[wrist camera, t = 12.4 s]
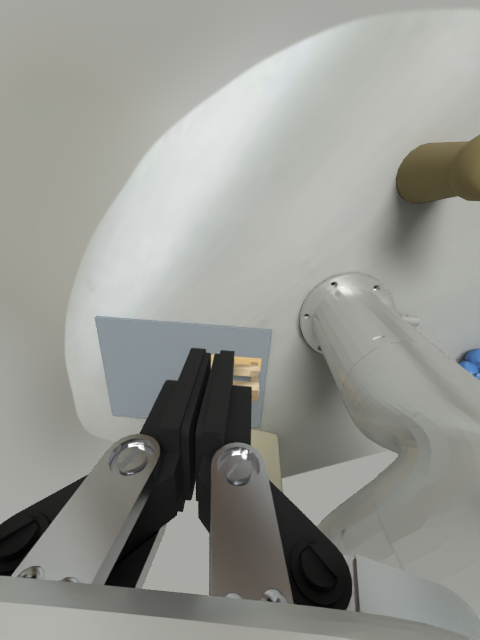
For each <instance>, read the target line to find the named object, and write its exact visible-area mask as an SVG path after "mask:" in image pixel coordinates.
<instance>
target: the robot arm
mask: <svg viewBox="0 0 480 640" xmlns="http://www.w3.org/2000/svg"><path fill="white" fill-rule="evenodd" d="M332 282H334V284H333V285H331V283H332ZM375 285H376V286H375ZM374 286H375V287H374ZM373 287H374V288H373ZM305 314H307V315H306V316H305ZM418 324H419V317H418V316H410V315H406V316H403V315H402V314H401V313H400V312H399V311H397V310H396V309H395V305H394V301H393V298H392V296H391V294H390V292H389V291H388V289H387V288H386V287H385V286H384V285H383V284H382V283H380V282H379V281H377V280H376V279H374V278H372V277H370V276H367V275H363V274H358V273H347V274H340V275H337V276H334V277H331V278H329V279H327V280H325V281H323V282H322V283H320V284H319V285H318V286H316V287H315V288H314V289H313V290H312V291H311V292H310V294H309V295H308V296H307V298H306V299H305V301H304V304H303V306H302V308H301V313H300V327H301V331H302V334H303V336H304V338H305V340H306V342H307V343H308V344H309V345H310V346H311V347H312V348H313V349H314V350H315V351H317V352H318V353H320V354H323V355H324V357H325V359H326V362H327V364H328V366H329V369H330V371H331V373H332V376H333V378H334V380H335V383H336V385H337V387H338V390H339V392H340V394H341V397H342V399H343V401H344V403H345V406H346V408H347V410H348V412H349V415H350V417H351V419H352V420H353V422H354V423H355V425H356V426H357V428H358V429H359V430H360V431H361V432H362V433H363V434H364V435H365V436H366V437H367V438H369V439H370V440H372V441H373V442H375V443H376V444H378V445H380V446H382V447H384V448H386V449H388V450H391V451H393V452H395V453H398V454H399V455H398V457H397V458H396V460H395V461H394V462H393V463H392V464H391V465H389V466H388V467H387V468H386V469H385V470H384V471H382V472H381V473H380V474H379V475H378V476H377V477H376V478H375V479H374V480H372V481H371V482H370V483H368V484H367V485H366V486H364V487H363V488H362V489H361V490H359V491H358V492H357V493H355V494H354V495H353V496H351V497H350V498H349V499H347V500H346V501H345V502H344V503H342V504H341V505H339V506H338V507H337V508H336V509H335V510H333V511H332V512H331V513H330V514H329V515H328V516H327V517H325V518H324V519H323V520H322V521H321V523H320V524H319V525H318V526H317V527H316V526H315V525H314V524H313V523H312V522H311V521H310V520H309V519H308V518H307V517H306V516H305V515H304V514H303V513H302V512H301V511H300V510H299V509H298V508H297V507H296V506H295V505H294V504H293V503H292V502H291V501H290V500H289V499H288V498H287V497H286V496H285V495H284V494H283V493H282V492H281V491H280V490H279V489H278V488H277V487H276V486H275V485H274V484H273V483H272V482H271V481H270V480H269V479H268V474H267V469H266V464H265V461H264V459H263V456H262V455H261V454H260V452H259V451H258V450H257V449H255V448H254V447H252V446H251V408H252V387H251V386H238V385H233V372H234V355H235V351H226V350H221V351H220V354H217V353H215V355H214V359H213V363H212V367H211V353H206V349H201V348H191V350H190V352H189V354H188V357H187V359H186V362H185V364H184V366H183V369H182V371H181V374H180V376H179V378H178V381H177V380H166V381H165V383H164V384H163V386H162V389H161V391H160V393H159V395H158V397H157V399H156V401H155V403H154V405H153V407H152V409H151V411H150V413H149V415H148V418H147V420H146V422H145V424H144V426H143V428H142V430H141V432H140V434H135V435H129V436H127V437H124V438H121V439H120V440H118V441H117V442H115V443H114V444H113V445H112V446H111V447H110V448H109V449H108V450H107V451H106V452H105V454H104V455H103V456H102V458H101V459H100V460H99V462H98V463H97V464H96V466H95V467H94V468H93V469H92V471H91V472H90V473H89V474H88V475H87V476H85V477H83V478H81V479H79V480H77V481H76V482H74V483H72V484H70V485H68V486H66V487H65V488H63V489H61V490H59V491H57V492H56V493H54V494H52V495H50V496H48V497H46V498H45V499H43V500H41V501H39V502H37V503H35V504H34V505H32V506H30V507H28V508H26V509H25V510H23V511H21V512H19V513H17V514H15V515H14V516H12V517H11V518H9V519H8V520H6V521H5V522H3V523H2V524H0V640H480V380H479V379H477V378H476V377H475V376H473V375H472V374H471V373H470V372H468V371H467V370H466V369H464V368H463V367H462V366H461V365H459V364H458V363H457V362H456V361H454V360H453V359H452V358H451V357H450V356H448V355H447V354H446V353H445V352H443V351H442V350H441V349H439V348H438V347H437V346H436V345H435V344H433V343H432V342H431V341H430V340H429V339H427V338H426V337H425V336H424V335H423V334H422V333H421V332H419V331H418V330H417V329H415V328H414V327H413V326H418ZM195 481H196V501H198V506H199V507H198V510H199V512H198V513H199V519H200V520H201V522H202V523H203V525H204V526H205V527H206V529H207V530H208V532H209V596H207V595H198V594H188V593H177V592H167V591H157V590H146V589H142V586H143V584H144V582H145V579H146V577H147V574H148V572H149V569H150V567H151V564H152V562H153V559H154V557H155V554H156V552H157V549H158V547H159V545H160V542H161V540H162V537H163V535H164V532H165V528H166V523H168V522H169V521H170V520H171V519H172V518H174V517H175V516H177V512H178V511H180V512H183V508H184V503H185V500H191V499H192V495H193V491H194V485H195Z"/></svg>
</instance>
